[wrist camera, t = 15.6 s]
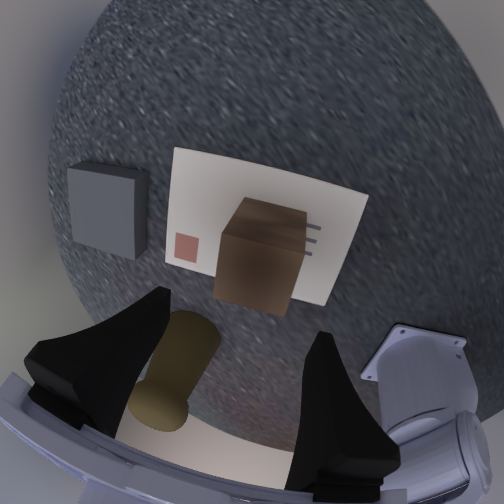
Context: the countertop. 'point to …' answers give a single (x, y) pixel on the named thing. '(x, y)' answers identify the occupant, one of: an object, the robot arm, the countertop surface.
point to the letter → (264, 189)
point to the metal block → (109, 208)
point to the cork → (174, 371)
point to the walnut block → (260, 256)
